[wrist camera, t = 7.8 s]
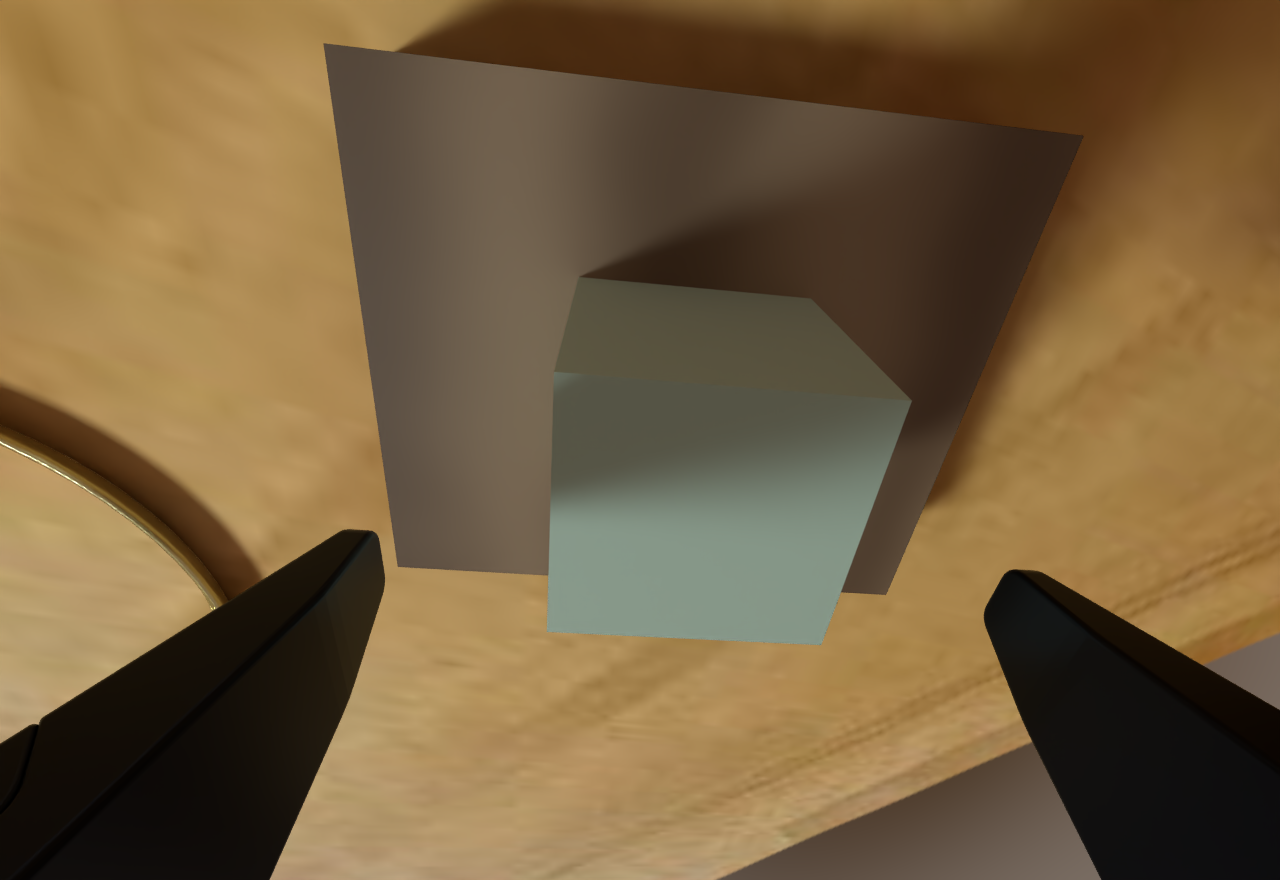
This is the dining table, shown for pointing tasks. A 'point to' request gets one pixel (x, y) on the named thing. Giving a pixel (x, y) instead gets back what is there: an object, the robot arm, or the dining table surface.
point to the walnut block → (652, 264)
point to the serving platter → (118, 508)
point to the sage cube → (710, 463)
